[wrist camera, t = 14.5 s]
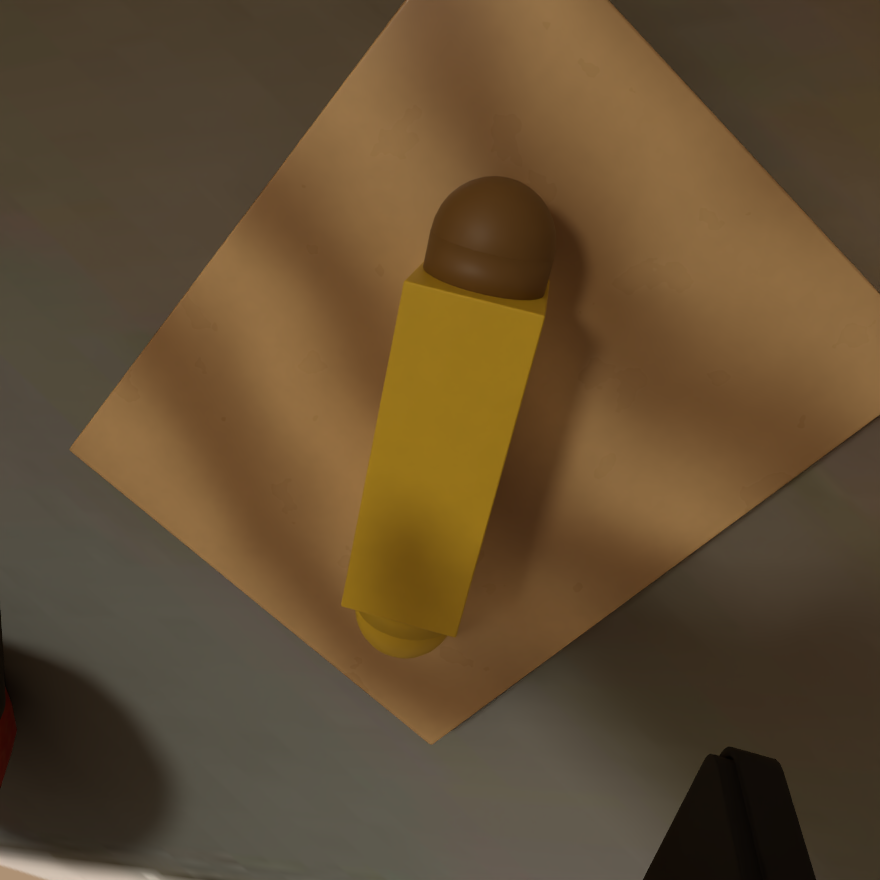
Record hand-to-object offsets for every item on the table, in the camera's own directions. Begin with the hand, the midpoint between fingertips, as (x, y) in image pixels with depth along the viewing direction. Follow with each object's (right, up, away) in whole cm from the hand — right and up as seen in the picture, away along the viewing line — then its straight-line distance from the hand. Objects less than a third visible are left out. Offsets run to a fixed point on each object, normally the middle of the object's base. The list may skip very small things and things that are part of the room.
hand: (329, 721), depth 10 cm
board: (+2, +5, +14) cm, 15 cm away
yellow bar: (+2, +4, +12) cm, 13 cm away
